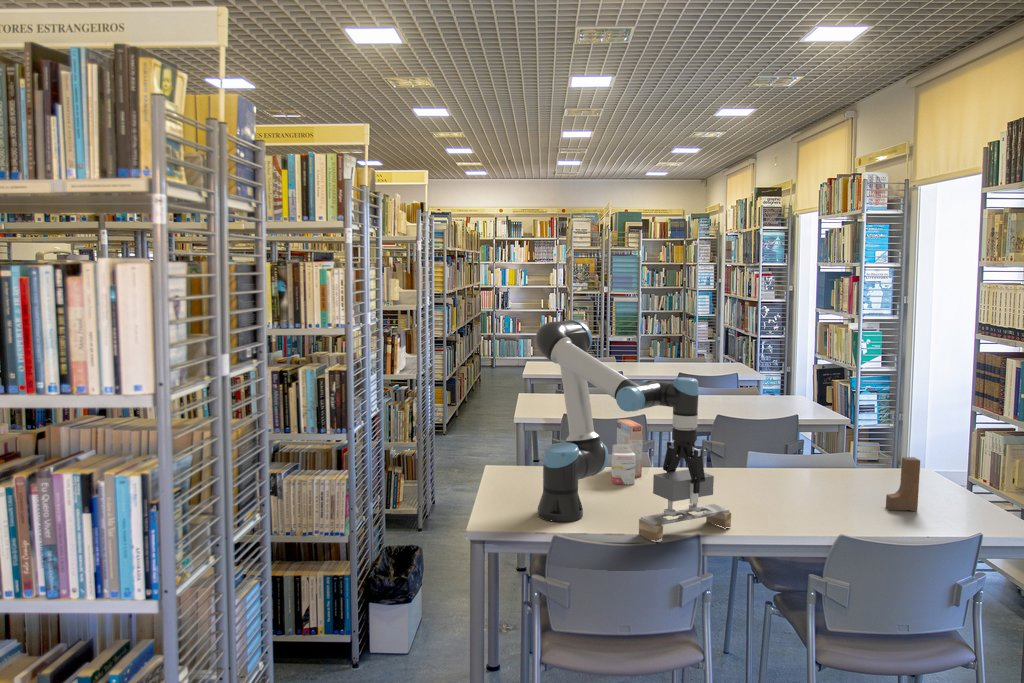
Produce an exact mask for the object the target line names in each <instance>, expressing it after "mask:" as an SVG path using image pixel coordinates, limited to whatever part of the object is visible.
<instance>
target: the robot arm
mask: <svg viewBox="0 0 1024 683" xmlns="http://www.w3.org/2000/svg"><path fill="white" fill-rule="evenodd" d="M535 334H536V335H535V340H534V341H535V345H536V348H537V350H538V351H539V353H540V354H541V355H542V356H543V357H545V358H546V359H547V360H548V361H550V362H552V363H553V364H558V365H559V367H560V373H561V381H562V382H561V383H562V387H563V388H562V389H563V394H564V404H565V410H566V415H567V416H566V418H567V424H568V425H567V426H568V432H569V435H568V436H567V438H566V439H565V442H556V443H552V444H550V445H548V446H547V447H546V448H544V451H543V458H542V466H543V467H542V468H543V470H542V480H543V481H542V494H541V497H540V499H539V503H538V505H537V513H536V514H537V516H538V517H539V518H540V517H541V518H540V519H542V518H543V520H544V519H547V520H546V521H548V520H552V521H551V522H554V521H562V522H561V523H565V522H564V521H571V522H574V521H575V520H576V521H579V520H581V519H582V518H583V516H584V510H583V505H582V502H581V499H580V496H579V480H582V479H585V478H588V477H593V476H596V475H598V474H599V473H601V472H603V471H604V470H605V468H606V467H607V465H608V464H609V463H608V462H609V457H610V456H609V451H608V447H607V446H606V445H605V443H603V441H601V440H600V439H601V438H600V437H601V436H600V435H599V434H598V433H597V432H596V431H595V429H594V428H595V427H594V420H593V414H592V413H593V412H592V406H591V398H590V391H589V390H590V389H589V385H588V384H589V383H590V384H592V385H593V386H594V387H596V388H598V389H599V390H600V391H602V392H604V393H606V394H607V395H609V396H610V397H612V399H615V402H616V404H617V406H618V408H619V409H620V410H622V411H623V412H627V413H628V412H638V411H640V410H644V409H648V408H653V407H656V406H657V407H658V406H660V407H669V408H672V426H673V428H672V431H671V432H672V433H671V434H672V435H671V439H672V440H669V441H666V451H665V457H664V462H663V465H662V470H663V471H666V472H665V473H668V472H675V471H677V468H678V467H679V463H680V461H681V459H684V462H685V463H686V465H687V468H688V469H689V472H690V476H691V479H692V482H690V499H689V505H691V504H694V503H697V504H699V497H698V493H699V491H700V489H699V488H700V482H705V475H704V473H705V471H704V470H705V468H704V462H703V449H702V448H699V449H698V448H696V446H695V443H696V442H697V440H698V429H697V428H698V418H699V417H698V415H699V414H698V413H699V411H698V408H699V394H700V392H699V381H698V380H697V379H696V378H694V377H684V376H683V377H682V376H681V377H679V376H678V377H674V379H673V382H666V381H658V380H654V379H653V380H652V379H651V380H647V379H645V380H644V379H643V380H641V381H640V383H639V384H637V383H636V382H634V381H633V380H631V379H630V378H628V377H627V376H625V375H623V374H621V373H620V372H618V371H617V370H615V369H613V368H612V367H610V366H609V365H607V364H605V363H604V362H602V361H600V360H599V359H598V358H596V357H594V356H593V355H591V354H589V353H588V351H589V350H590V348H591V346H592V345H593V335H592V334H593V333H592V331H591V330H590V328H589V327H588V326H587V324H585V323H584V322H582V321H580V320H572V319H571V320H563V321H562V320H560V321H549V322H546V323H544V324H542V325H541V326H540V328H538V330H537V332H536V333H535ZM588 382H589V383H588ZM688 469H687V470H688ZM695 478H696V479H695ZM580 518H581V519H580ZM576 521H575V522H576Z"/></svg>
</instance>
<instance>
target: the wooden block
mask: <svg viewBox="0 0 1024 683" xmlns="http://www.w3.org/2000/svg"><path fill="white" fill-rule="evenodd" d="M900 467H901V468H900V473H901V474H900V484H899V487H898V489H897V491H895V492H894V493H887V494H886V495H885V496H886V498H885V507H886V508H887V509H888V508H889V509H888V510H890V511H893V510H905V511H904V512H907V511H906V510H912V511H911V512H917V511H918V507H919V506H918V504H919V490H920V488H919V487H920V474H921V473H920V472H921V459H918V458H916V457H913V456H912V457H911V456H908V457H907V456H902V457H901V466H900Z"/></svg>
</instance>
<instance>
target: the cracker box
mask: <svg viewBox="0 0 1024 683" xmlns="http://www.w3.org/2000/svg"><path fill="white" fill-rule="evenodd" d="M616 424H617V427H616V445H619V444H620V445H633V453H634V454H635V455H636V461H635V478H640V477H641V478H642V472H643V471H642V469H643V441H644V440H643V439H644V435H643V434H644V425H642V424H641V423H638V422H636V421H634V420H632V419H629V418H628V419H627V418H626V419H624V418H623V419H617V422H616ZM619 449H627V448H626V447H620V448H619Z"/></svg>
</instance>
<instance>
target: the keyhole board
mask: <svg viewBox="0 0 1024 683" xmlns="http://www.w3.org/2000/svg"><path fill="white" fill-rule="evenodd" d="M700 506H701V511H695V512H697V513H698V514H692V512H694V511H690V510H689V508H685V509H678V510H676V515H675V516H672V517H676V518H672V519H671V518H670V519H668V518H666V517H668V516H667V515H664V512H662V513H656V514H651V515H645V516H640V518H638V535H639V534H640V535H642V536H643V537H642V536H641V537H642V538H644V537H645V539H646V540H648V539H649V541H650V540H655V541H657V540H659V539H661V538H662V537H663V538H664V525H668V524H669V525H670V524H675V523H679V522H684V521H685V522H686V521H690V520H691V521H692V520H695V519H701V518H705V519H706V520H705V521H708V522H710V523H709V524H711V523H713V524H716V525H719V526H722V527H724V528H726V527H731V526H732V525H731V524H732V512H731V511H730V509H729V508H726V507H724V506H721V505H718V504H716V503H713V504H707V505H700ZM700 512H702V513H700ZM708 522H707V523H708ZM713 524H712V525H713ZM640 535H639V536H640Z"/></svg>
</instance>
